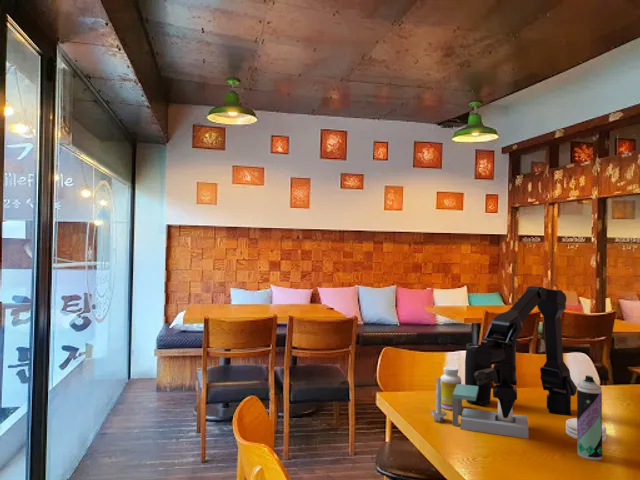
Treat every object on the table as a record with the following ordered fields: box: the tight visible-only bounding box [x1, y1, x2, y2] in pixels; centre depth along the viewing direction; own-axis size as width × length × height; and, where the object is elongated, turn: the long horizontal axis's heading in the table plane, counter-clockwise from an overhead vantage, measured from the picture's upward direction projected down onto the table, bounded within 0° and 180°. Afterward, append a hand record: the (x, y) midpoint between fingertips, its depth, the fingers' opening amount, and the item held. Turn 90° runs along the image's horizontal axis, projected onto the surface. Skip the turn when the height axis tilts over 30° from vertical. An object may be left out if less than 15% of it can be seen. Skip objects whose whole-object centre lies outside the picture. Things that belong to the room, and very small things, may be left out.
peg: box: [497, 398, 514, 423], centre depth 138 cm, size 4×4×9 cm
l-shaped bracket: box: [452, 383, 478, 427], centre depth 145 cm, size 6×12×9 cm, turn 158°
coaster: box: [565, 417, 607, 443], centre depth 134 cm, size 10×10×4 cm
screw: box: [429, 376, 448, 423], centre depth 145 cm, size 13×5×5 cm
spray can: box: [576, 374, 603, 461], centre depth 120 cm, size 6×6×20 cm
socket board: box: [460, 407, 529, 439], centre depth 139 cm, size 18×10×3 cm, turn 68°
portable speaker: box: [464, 342, 492, 407], centre depth 163 cm, size 9×9×20 cm
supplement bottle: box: [440, 366, 462, 411], centre depth 157 cm, size 7×7×13 cm
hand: (505, 415), depth 138 cm, fingers closed on peg, 4 cm apart
